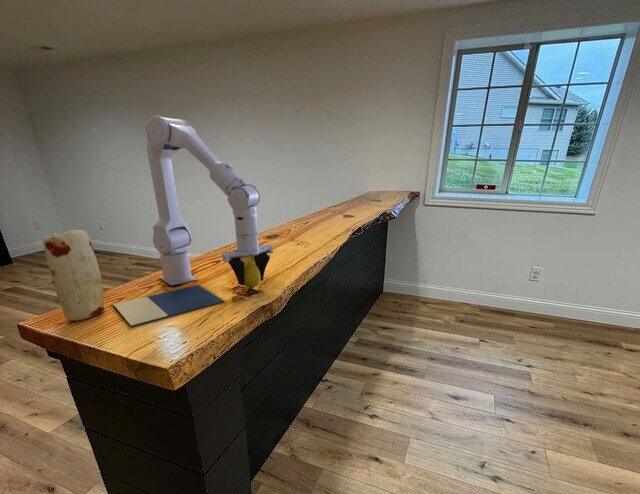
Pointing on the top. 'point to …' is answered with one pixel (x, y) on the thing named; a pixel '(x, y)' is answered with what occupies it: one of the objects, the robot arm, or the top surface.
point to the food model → (75, 274)
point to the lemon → (251, 275)
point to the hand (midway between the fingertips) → (250, 281)
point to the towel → (165, 305)
